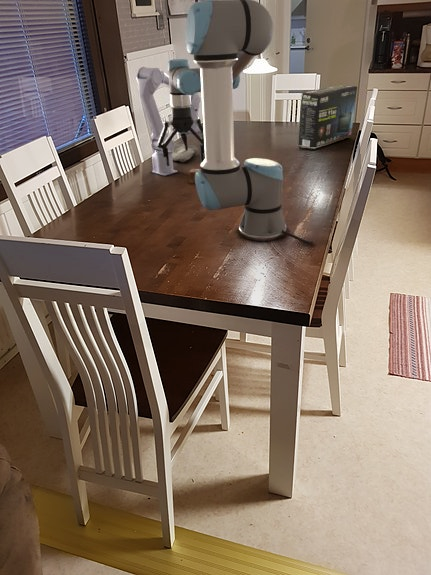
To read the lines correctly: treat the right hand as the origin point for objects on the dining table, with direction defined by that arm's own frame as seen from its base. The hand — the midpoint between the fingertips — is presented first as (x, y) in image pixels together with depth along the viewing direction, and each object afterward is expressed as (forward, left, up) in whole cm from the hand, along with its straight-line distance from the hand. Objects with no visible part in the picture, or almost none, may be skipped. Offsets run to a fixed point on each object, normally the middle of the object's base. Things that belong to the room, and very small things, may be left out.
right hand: (184, 163), depth 180 cm
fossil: (+31, -41, -12) cm, 53 cm away
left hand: (+19, -37, -5) cm, 42 cm away
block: (+4, -13, -12) cm, 18 cm away
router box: (-26, -96, -12) cm, 100 cm away
